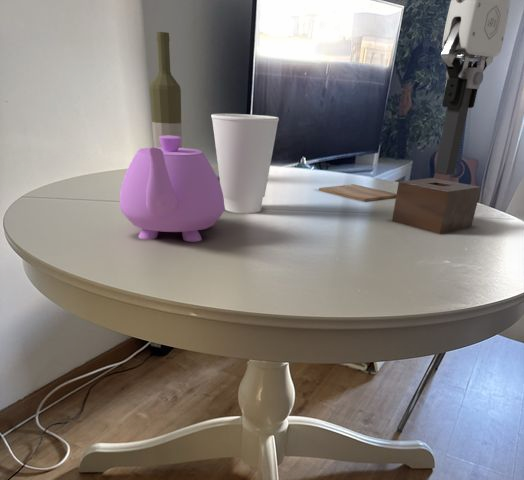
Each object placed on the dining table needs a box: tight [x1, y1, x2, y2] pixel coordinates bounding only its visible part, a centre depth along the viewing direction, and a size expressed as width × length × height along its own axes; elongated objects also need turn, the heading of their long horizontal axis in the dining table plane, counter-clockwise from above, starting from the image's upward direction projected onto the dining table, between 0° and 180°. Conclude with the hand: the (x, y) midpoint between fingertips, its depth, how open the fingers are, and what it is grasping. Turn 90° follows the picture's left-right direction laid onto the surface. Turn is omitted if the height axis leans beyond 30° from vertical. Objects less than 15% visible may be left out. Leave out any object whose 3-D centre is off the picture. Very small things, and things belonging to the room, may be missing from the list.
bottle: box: [149, 31, 183, 148], centre depth 110 cm, size 7×7×30 cm
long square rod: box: [434, 68, 484, 176], centre depth 79 cm, size 3×5×16 cm, turn 38°
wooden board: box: [318, 183, 397, 203], centre depth 111 cm, size 12×14×1 cm
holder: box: [391, 177, 482, 235], centre depth 86 cm, size 10×10×7 cm
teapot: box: [119, 135, 225, 242], centre depth 70 cm, size 22×16×14 cm
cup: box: [210, 113, 280, 214], centre depth 87 cm, size 12×12×16 cm
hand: (457, 106), depth 78 cm, fingers closed on long square rod, 2 cm apart
